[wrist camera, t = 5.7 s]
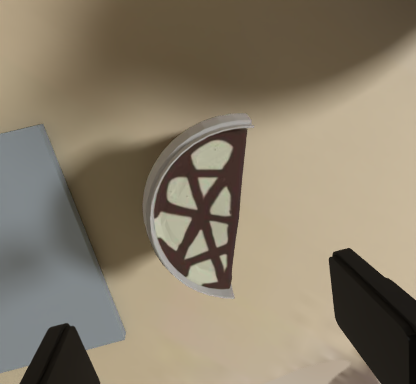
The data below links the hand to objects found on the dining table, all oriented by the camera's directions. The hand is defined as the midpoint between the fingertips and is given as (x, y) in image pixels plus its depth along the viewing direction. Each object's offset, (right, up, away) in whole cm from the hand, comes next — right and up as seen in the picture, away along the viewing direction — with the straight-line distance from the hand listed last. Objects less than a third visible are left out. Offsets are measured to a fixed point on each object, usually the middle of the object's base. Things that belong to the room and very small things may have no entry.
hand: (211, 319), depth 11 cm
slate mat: (-19, -2, +17) cm, 26 cm away
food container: (-2, +6, +17) cm, 18 cm away
